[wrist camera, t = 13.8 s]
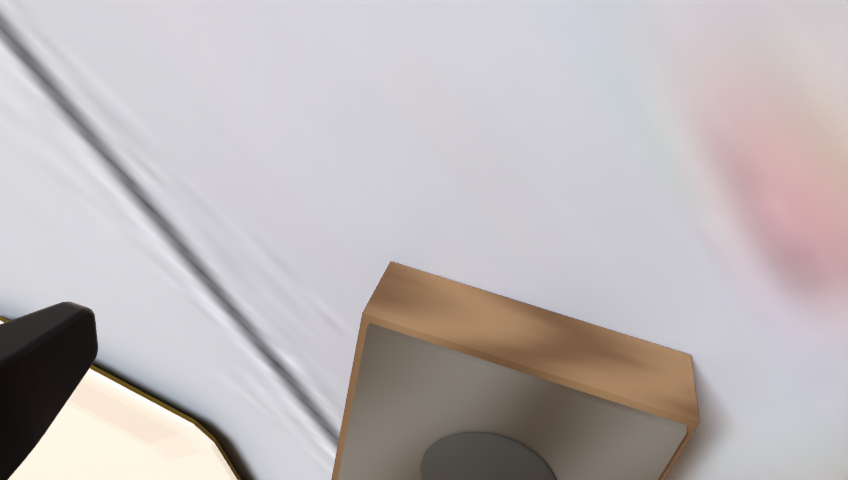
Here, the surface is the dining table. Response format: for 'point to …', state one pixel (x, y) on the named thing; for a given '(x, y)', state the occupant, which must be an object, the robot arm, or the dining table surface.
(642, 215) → the dining table surface
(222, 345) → the dining table surface
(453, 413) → the block
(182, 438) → the plate
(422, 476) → the sundae
